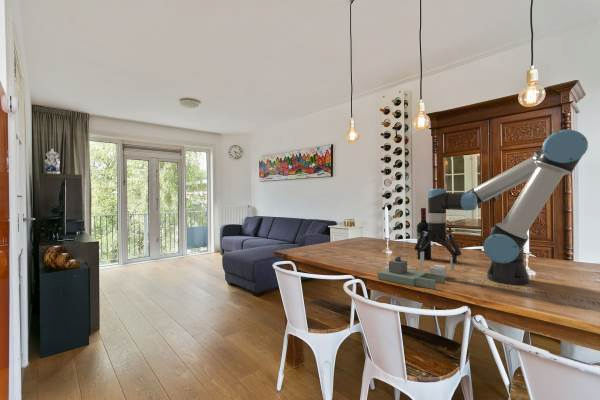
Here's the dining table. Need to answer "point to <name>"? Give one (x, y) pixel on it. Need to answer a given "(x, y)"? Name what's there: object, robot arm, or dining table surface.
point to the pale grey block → (438, 270)
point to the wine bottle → (424, 227)
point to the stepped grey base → (409, 275)
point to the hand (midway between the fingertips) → (436, 267)
